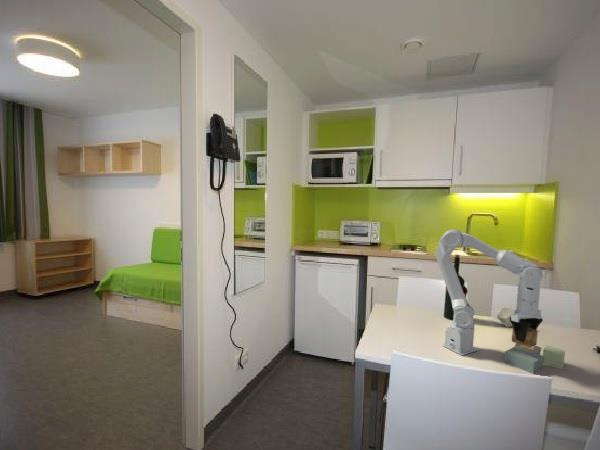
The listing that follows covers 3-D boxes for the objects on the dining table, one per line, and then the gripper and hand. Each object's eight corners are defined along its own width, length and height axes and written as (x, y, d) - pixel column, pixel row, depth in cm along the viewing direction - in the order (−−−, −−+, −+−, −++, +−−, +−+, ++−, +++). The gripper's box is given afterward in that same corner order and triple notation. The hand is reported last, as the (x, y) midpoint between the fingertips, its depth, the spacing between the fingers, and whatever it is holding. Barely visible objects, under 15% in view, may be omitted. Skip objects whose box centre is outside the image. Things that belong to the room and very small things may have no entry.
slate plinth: (532, 374, 93) (533, 362, 92) (504, 362, 99) (505, 351, 99) (542, 367, 97) (544, 356, 97) (515, 356, 104) (516, 345, 103)
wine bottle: (469, 323, 132) (474, 257, 130) (445, 319, 135) (449, 255, 133) (465, 316, 140) (470, 254, 137) (442, 313, 143) (446, 252, 140)
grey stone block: (493, 326, 131) (507, 314, 125) (492, 311, 138) (505, 299, 131) (512, 334, 130) (527, 323, 123) (510, 319, 136) (524, 308, 130)
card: (538, 354, 105) (538, 352, 105) (514, 347, 110) (514, 346, 110) (540, 347, 110) (540, 346, 110) (517, 341, 115) (517, 340, 115)
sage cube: (561, 369, 96) (563, 355, 95) (542, 363, 99) (543, 349, 99) (563, 364, 99) (565, 350, 99) (544, 358, 103) (546, 344, 102)
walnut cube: (528, 347, 95) (529, 333, 95) (511, 341, 99) (512, 327, 99) (536, 344, 97) (537, 330, 97) (519, 338, 102) (520, 324, 101)
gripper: (530, 306, 90) (526, 348, 91) (553, 300, 97) (549, 340, 98) (505, 299, 97) (502, 339, 98) (528, 294, 103) (525, 331, 104)
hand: (524, 339), depth 98 cm, fingers closed on walnut cube, 5 cm apart
